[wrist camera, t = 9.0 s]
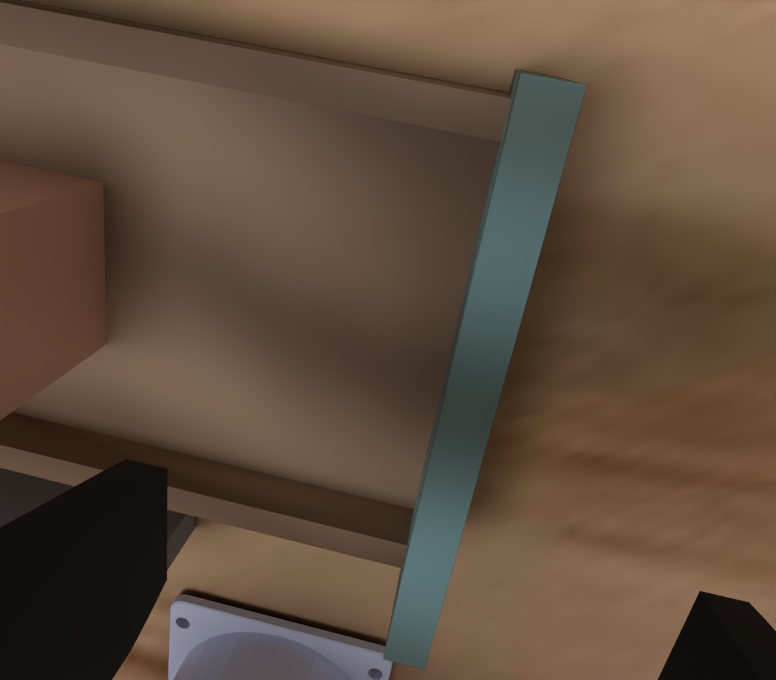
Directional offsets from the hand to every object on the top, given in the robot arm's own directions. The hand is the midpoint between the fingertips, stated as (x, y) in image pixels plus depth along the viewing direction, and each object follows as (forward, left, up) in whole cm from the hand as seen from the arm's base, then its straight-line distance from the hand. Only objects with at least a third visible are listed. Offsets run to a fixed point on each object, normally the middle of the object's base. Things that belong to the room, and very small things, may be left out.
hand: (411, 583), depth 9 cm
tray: (0, +8, -9) cm, 12 cm away
